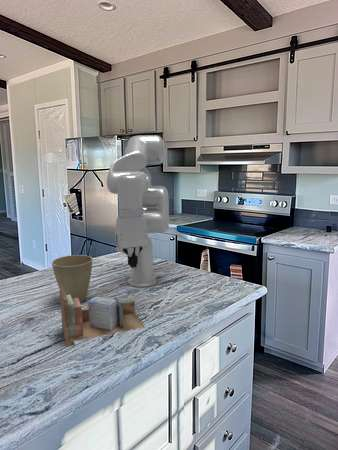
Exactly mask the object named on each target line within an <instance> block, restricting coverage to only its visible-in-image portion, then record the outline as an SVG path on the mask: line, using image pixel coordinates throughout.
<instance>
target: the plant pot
mask: <svg viewBox="0 0 338 450" xmlns="http://www.w3.org/2000/svg"><path fill="white" fill-rule="evenodd" d="M93 259H94V258H93V257H92V256H90V255H85V254H84V255H83V254H73V255H65V256H60V257H57V258H55V259H53V260H52V261H51V267H52V270H53V274H54V278H55V280H56V283H57V286H58V288H59V286H63V287H64V290H65V293H66V295H71V298H78V299H79V301H80V303H82V302H84V301H85V300H86V297H87V295H88V291H89V287H90V283H91V276H92V269H93ZM59 290H60V288H59Z"/></svg>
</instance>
